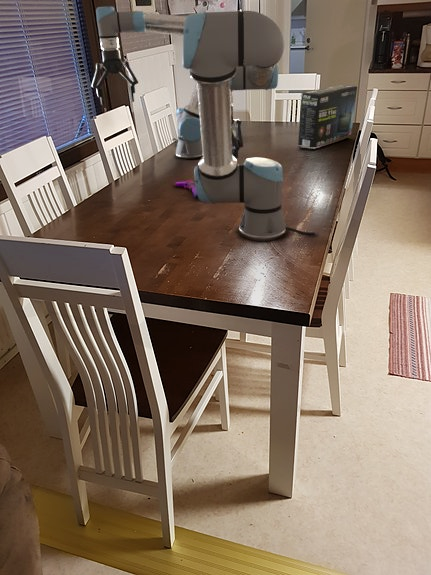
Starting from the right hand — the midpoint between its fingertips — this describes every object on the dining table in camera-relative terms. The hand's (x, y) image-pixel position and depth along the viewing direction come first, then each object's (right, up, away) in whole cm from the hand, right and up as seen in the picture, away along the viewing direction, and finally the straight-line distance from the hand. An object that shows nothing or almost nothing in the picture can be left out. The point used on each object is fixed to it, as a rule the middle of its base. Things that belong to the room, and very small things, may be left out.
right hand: (223, 168), depth 173 cm
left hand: (-47, +37, +31) cm, 67 cm away
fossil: (+2, +39, +86) cm, 95 cm away
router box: (+55, +32, +72) cm, 96 cm away
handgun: (-14, -6, +13) cm, 20 cm away
